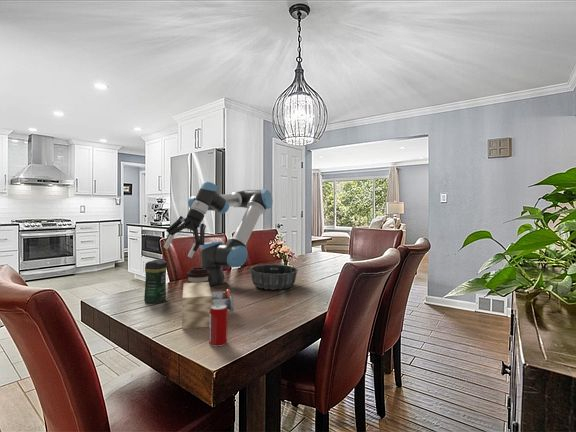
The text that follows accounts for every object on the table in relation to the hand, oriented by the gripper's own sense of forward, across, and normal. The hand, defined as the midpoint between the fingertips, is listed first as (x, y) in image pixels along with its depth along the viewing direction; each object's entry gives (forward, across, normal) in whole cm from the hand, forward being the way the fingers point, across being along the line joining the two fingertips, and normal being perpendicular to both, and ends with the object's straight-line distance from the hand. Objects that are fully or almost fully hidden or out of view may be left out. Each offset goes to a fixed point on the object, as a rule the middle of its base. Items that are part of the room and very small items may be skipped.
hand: (177, 252), depth 145 cm
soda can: (+23, +46, -28) cm, 59 cm away
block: (+21, +27, -10) cm, 36 cm away
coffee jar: (+23, -1, +4) cm, 24 cm away
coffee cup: (+17, +16, +7) cm, 25 cm away
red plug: (+14, +29, -4) cm, 32 cm away
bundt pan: (-4, +37, +42) cm, 56 cm away
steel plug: (+16, +35, -13) cm, 41 cm away
